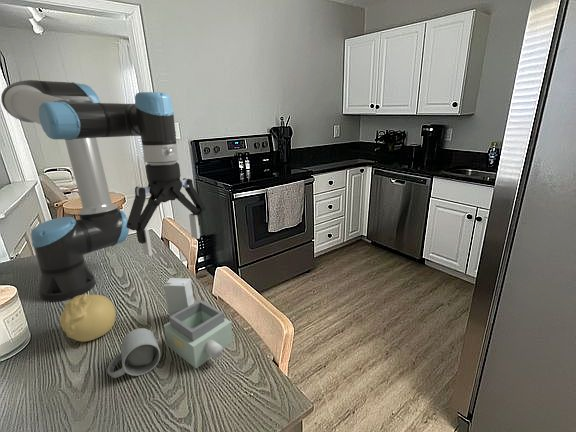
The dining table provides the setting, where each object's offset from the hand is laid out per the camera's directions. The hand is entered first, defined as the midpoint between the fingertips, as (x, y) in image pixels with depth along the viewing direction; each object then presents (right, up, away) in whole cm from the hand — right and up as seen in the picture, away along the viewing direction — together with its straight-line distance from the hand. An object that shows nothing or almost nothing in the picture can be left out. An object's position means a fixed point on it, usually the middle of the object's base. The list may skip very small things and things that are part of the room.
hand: (173, 245), depth 79 cm
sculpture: (-22, -23, +2) cm, 32 cm away
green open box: (+9, -25, -3) cm, 26 cm away
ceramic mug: (-5, -27, -9) cm, 29 cm away
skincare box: (0, -22, +7) cm, 23 cm away
